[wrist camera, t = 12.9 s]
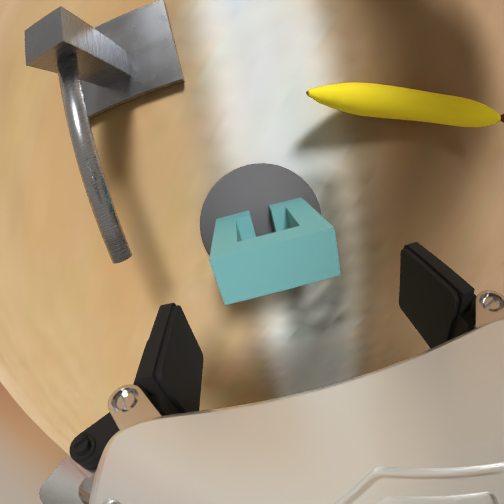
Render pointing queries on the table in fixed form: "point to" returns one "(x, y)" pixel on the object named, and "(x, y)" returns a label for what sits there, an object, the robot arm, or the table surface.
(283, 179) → the coaster
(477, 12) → the table surface
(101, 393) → the table surface
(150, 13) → the stand
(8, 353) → the table surface
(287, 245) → the link
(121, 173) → the table surface
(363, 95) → the banana
